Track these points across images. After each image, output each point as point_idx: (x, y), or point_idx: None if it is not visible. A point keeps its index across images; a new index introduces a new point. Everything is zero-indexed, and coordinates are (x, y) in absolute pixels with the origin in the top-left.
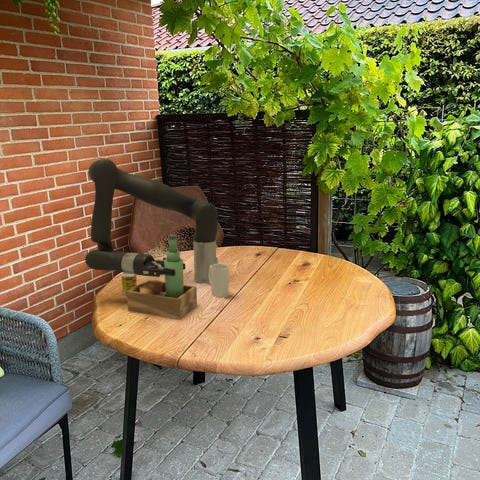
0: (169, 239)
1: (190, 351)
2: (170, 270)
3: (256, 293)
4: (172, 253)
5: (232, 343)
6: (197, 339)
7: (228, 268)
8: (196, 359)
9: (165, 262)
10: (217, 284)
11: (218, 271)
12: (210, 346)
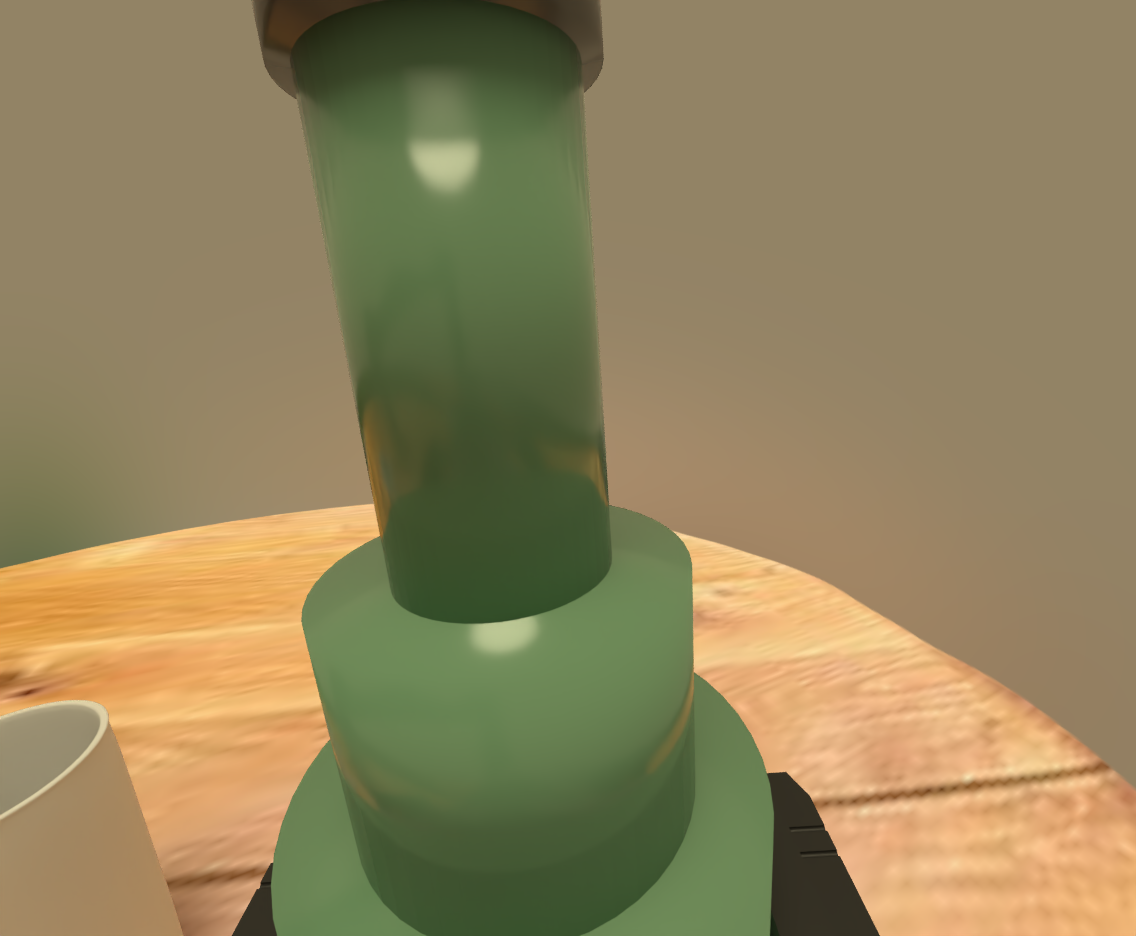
0: (572, 104)
1: (994, 757)
2: (774, 819)
3: (135, 776)
4: (645, 525)
5: (767, 660)
6: (873, 789)
7: (52, 718)
8: (1003, 705)
9: (769, 869)
10: (137, 888)
11: (104, 763)
12: (864, 709)
